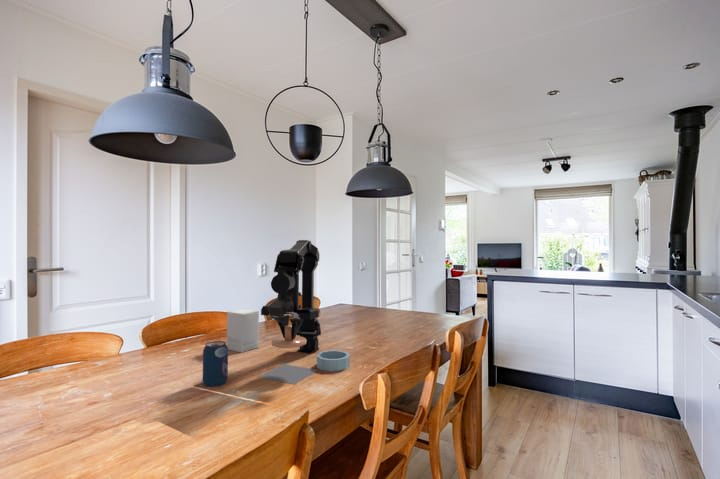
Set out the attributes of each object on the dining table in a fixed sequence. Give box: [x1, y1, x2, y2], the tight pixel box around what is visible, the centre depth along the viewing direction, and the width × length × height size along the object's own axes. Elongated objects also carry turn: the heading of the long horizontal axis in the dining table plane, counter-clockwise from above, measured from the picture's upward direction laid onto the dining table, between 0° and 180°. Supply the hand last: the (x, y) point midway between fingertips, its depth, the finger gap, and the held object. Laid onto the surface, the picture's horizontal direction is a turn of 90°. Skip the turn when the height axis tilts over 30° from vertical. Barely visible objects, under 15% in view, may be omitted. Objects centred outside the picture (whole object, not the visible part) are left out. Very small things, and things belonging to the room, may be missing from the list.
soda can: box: [202, 340, 229, 387], centre depth 110 cm, size 7×7×12 cm
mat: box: [257, 363, 320, 385], centre depth 118 cm, size 14×14×1 cm
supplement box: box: [226, 308, 260, 353], centre depth 148 cm, size 9×9×15 cm
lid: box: [270, 324, 306, 349], centre depth 119 cm, size 11×11×6 cm
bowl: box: [316, 349, 351, 372], centre depth 127 cm, size 11×11×4 cm
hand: (289, 338), depth 119 cm, fingers closed on lid, 3 cm apart
